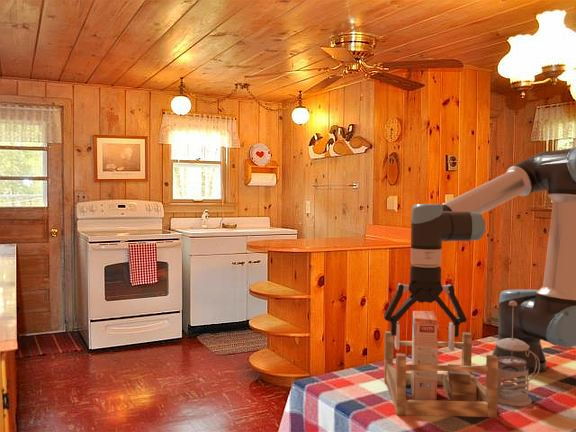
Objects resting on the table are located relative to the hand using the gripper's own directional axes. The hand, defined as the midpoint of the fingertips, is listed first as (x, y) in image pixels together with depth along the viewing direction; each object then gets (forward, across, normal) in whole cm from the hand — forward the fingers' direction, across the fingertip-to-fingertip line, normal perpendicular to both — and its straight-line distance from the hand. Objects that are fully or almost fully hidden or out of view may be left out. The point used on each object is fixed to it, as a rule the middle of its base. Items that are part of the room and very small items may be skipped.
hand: (424, 348), depth 132 cm
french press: (+13, +23, +1) cm, 26 cm away
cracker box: (+13, 0, 0) cm, 13 cm away
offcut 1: (+8, +9, +2) cm, 12 cm away
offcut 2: (+11, +10, +2) cm, 14 cm away
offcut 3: (+13, +10, +2) cm, 16 cm away
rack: (+12, +3, 0) cm, 13 cm away
